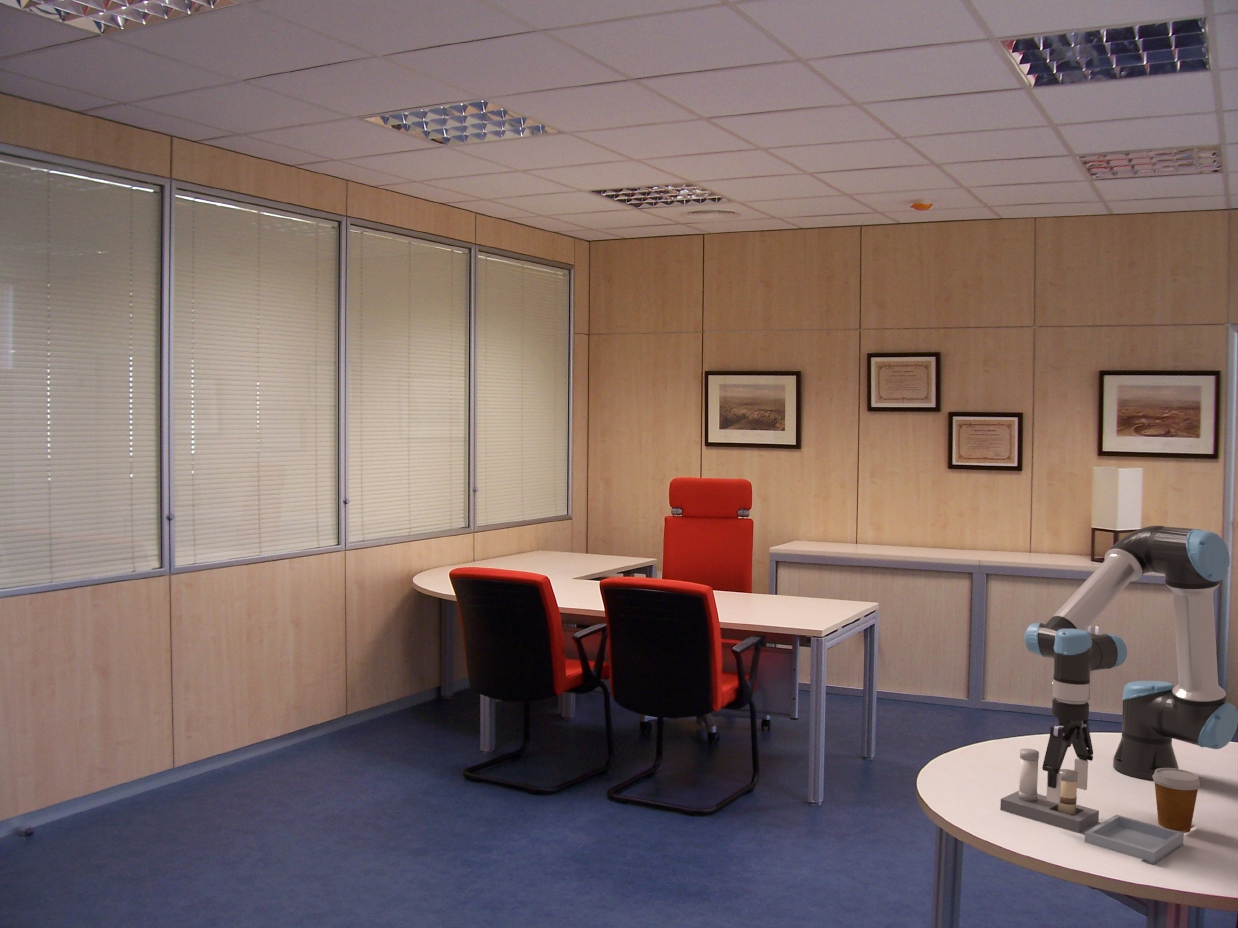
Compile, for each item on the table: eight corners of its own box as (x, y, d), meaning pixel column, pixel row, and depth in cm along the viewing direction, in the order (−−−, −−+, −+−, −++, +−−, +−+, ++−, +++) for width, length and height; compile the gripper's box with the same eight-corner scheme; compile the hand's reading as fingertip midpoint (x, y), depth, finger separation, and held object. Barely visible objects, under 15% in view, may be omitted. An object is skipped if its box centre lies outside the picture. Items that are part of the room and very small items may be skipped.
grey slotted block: (1021, 801, 253) (1023, 742, 252) (1098, 823, 240) (1100, 761, 239) (1000, 811, 246) (1002, 751, 245) (1078, 834, 233) (1080, 770, 232)
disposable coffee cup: (1197, 839, 232) (1199, 783, 231) (1148, 829, 237) (1150, 775, 236) (1200, 825, 240) (1202, 772, 239) (1152, 816, 245) (1154, 764, 244)
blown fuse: (1061, 815, 243) (1063, 767, 242) (1079, 820, 240) (1080, 772, 239) (1053, 820, 240) (1055, 771, 240) (1071, 825, 237) (1072, 775, 237)
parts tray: (1115, 825, 239) (1116, 814, 239) (1183, 844, 229) (1183, 832, 228) (1084, 843, 228) (1084, 832, 228) (1153, 864, 218) (1153, 852, 218)
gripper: (1078, 687, 250) (1075, 778, 251) (1028, 705, 233) (1024, 802, 234) (1111, 694, 245) (1107, 787, 245) (1062, 712, 228) (1058, 812, 228)
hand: (1067, 794), depth 240 cm, fingers open, 13 cm apart
